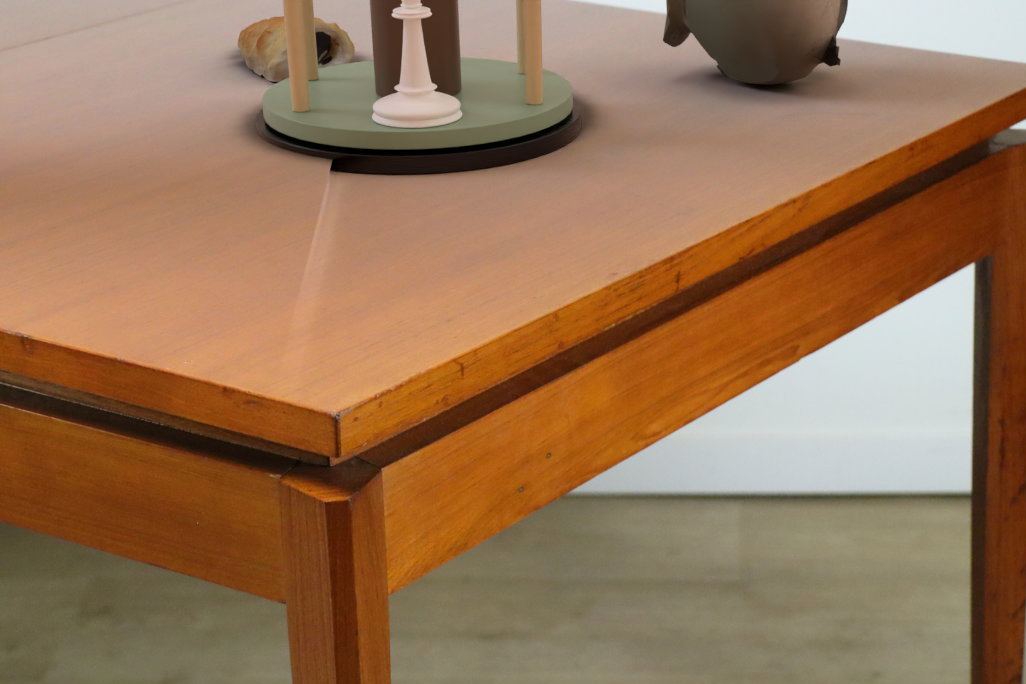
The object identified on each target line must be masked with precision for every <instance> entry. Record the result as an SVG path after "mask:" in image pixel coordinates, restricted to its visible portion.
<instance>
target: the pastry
mask: <svg viewBox="0 0 1026 684" xmlns="http://www.w3.org/2000/svg"><path fill="white" fill-rule="evenodd" d="M314 22H315V35H316V47H317V60H318V69H321V68H325V67H330V66H335V65H341V64H347V63H352V62H353V59H354V57H355V52H356V51H355V50H356V49H355V45H354V43H353V41H352V40H351V38H350V36H349V33H348V31H346V30H344V29H342V28H341V27H340V26H339V25H338V23H337V22H331V23H329V22H325V21H324V20H323V19H321V18H320V17H314ZM237 47H238V49H239V53H240V54H241V56H242V57H243V58H244V60H245V64H246V67H247V68H248V69H249V70H250V71H253V73H254V74H256V75H258V76H259V77H261V76H263V77H264V79H265V80H266V81H269V82H276V83H278V82H280V81H282V80H285V79H287V78H289V66H288V55H287V44H286V32H285V21H284V15H283V16H272V17H269V18H265V19H261V20H259V21H257V22H253V23H251V24H250V25H248V26H246V27H245V28H244V29H242V30H240V32H239V35H238V38H237Z"/></svg>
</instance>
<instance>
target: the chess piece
mask: <svg viewBox="0 0 1026 684" xmlns="http://www.w3.org/2000/svg"><path fill="white" fill-rule="evenodd" d="M401 1H402V4H400V6H402V7H398V8H395V9H393V13H392V17H394V18H398V19H403V47H402V63H401V75H400V83H399V84H398V85H396V86H395V87H394V89H395V90H397V91H399V92H397V93H394V94H391V95H388V96H385V97H383V98H381V99H379V100H377V101H376V102H375V103H374V104H373V111H374V113H373V115H372V119H373V121H375V122H376V123H378V124H381V125H384V126H389V127H397V128H427V127H436V126H441V125H446V124H449V123H452V122H455V121H457V120H459V119H460V118H461V117H462V112H461V110H460V106H461V104H460V102H459V100H458V99H456V98H455V97H453V96H450V95H447V94H444V93H441V92H435V91H434V90H435V89H436V88H437V85H436V84H433V83H432V82H431V78H430V74H429V69H428V63H427V57H426V51H425V45H424V39H423V32H422V25H421V19H422V18H427V17H430V16H431V15H432V13H431V12H430V10H431V9H430V8H428V7H424V6H422V3H420V1H421V0H401Z"/></svg>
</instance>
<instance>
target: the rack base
mask: <svg viewBox="0 0 1026 684" xmlns="http://www.w3.org/2000/svg"><path fill="white" fill-rule="evenodd" d="M582 116H583V115H582V106H581V104H580V103H579V101H578V100H577V99H576V98H575V97H573V108H572V110H571V113H570V114H569V115H568V116H567V117H566V118H565V119H563V120H562V121H560V122H559V123H557V124H555V125H552V126H550V127H548V128H546V129H543V130H540V131H537V132H535V133H531V134H527V135H524V136H520V137H516V138H511V139H507V140H502V141H496V142H491V143H485V144H477V145H469V146H461V147H450V148H436V149H410V150H388V149H363V148H350V147H340V146H332V145H326V144H319V143H314V142H309V141H305V140H301V139H297V138H294V137H291V136H288V135H285V134H283V133H280V132H278V131H277V130H275V129H273V128H272V127H270V126H269V125H268V124H267V123H266V121H265V119H264V116H263V108H261V109H260V110H259V111H258V112H257V114H256V116H255V121H254V122H255V123H254V124H255V130H256V132H257V134H258V135H259V136H260V137H261V138H262V140H264V141H265V142H267V143H269V144H270V145H273V146H275V147H277V148H280V149H282V150H286V151H289V152H291V153H295V154H299V155H304V156H308V157H314V158H320V159H327V160H331V163H330V168H329V171H338V172H345V173H346V172H347V173H358V174H371V175H376V174H377V175H378V174H379V175H423V174H426V175H427V174H443V173H454V172H464V171H465V172H466V171H473V170H481V169H482V170H483V169H488V168H493V167H499V166H500V167H501V166H505V165H511V164H514V163H518V162H523V161H526V160H531V159H534V158H537V157H540V156H544V155H545V154H549V153H551V152H554V151H557V150H559V149H560V148H562V147H564V146H566V145H568V144H570V143H571V142H572V141H574V140H575V139H576V138H577V137H578V135H579V134H580V132H581V129H582V128H583V127H582V126H583V125H582V124H583V123H582V119H583V118H582Z"/></svg>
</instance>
